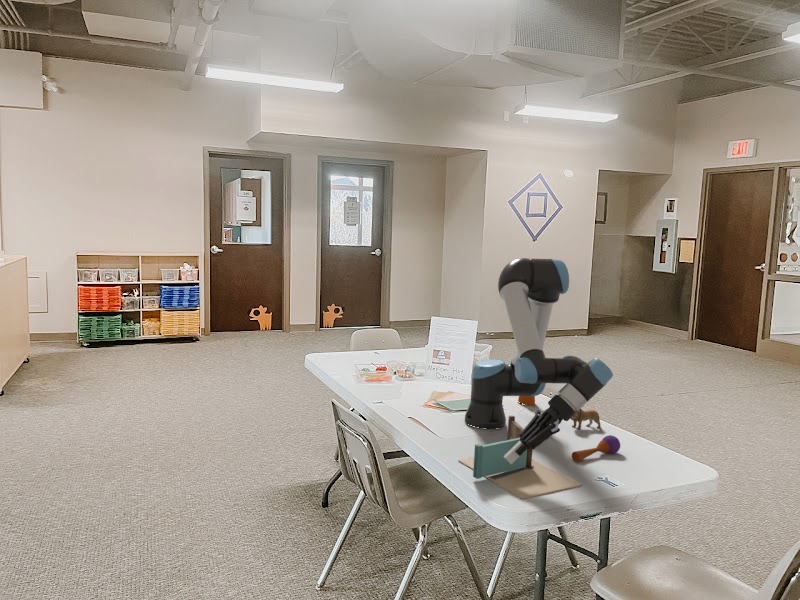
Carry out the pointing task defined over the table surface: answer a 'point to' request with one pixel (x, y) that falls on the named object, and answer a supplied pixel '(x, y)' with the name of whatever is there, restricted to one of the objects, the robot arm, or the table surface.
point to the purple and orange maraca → (599, 448)
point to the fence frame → (514, 432)
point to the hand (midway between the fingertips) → (507, 460)
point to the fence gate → (495, 458)
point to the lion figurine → (585, 418)
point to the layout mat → (529, 480)
